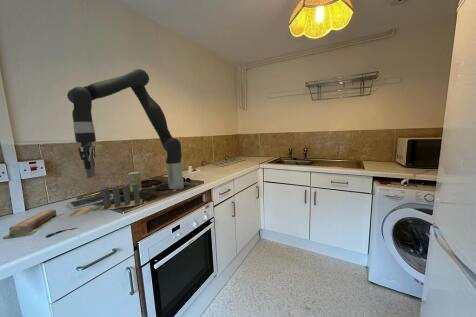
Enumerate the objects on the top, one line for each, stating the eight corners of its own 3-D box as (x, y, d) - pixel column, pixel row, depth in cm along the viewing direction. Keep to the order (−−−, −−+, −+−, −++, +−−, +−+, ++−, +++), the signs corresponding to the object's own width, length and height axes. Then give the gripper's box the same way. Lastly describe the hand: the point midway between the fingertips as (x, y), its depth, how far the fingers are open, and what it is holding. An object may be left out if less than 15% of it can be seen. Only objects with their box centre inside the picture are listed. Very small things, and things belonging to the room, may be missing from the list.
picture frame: (109, 195, 121) (66, 206, 106) (108, 191, 121) (65, 201, 105) (118, 200, 111) (71, 212, 96) (117, 195, 111) (70, 207, 95)
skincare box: (130, 192, 124) (127, 173, 123) (131, 190, 128) (129, 172, 127) (140, 190, 126) (138, 172, 124) (142, 189, 130) (140, 171, 128)
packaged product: (32, 223, 73) (0, 228, 71) (35, 235, 74) (3, 240, 71) (62, 206, 90) (37, 210, 88) (64, 216, 91) (39, 219, 89)
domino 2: (111, 205, 99) (108, 186, 97) (108, 208, 94) (105, 189, 93) (106, 205, 98) (103, 187, 97) (104, 209, 93) (101, 189, 92)
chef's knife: (105, 218, 86) (101, 217, 88) (104, 216, 86) (101, 214, 87) (48, 240, 70) (45, 238, 71) (48, 237, 69) (44, 235, 71)
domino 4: (130, 202, 102) (128, 183, 101) (129, 205, 97) (126, 186, 96) (126, 202, 101) (124, 184, 100) (125, 205, 97) (122, 186, 95)
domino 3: (121, 203, 100) (118, 185, 99) (119, 206, 96) (116, 187, 94) (117, 204, 100) (114, 185, 98) (114, 207, 95) (111, 188, 94)
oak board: (142, 201, 105) (142, 199, 105) (141, 205, 98) (141, 203, 98) (75, 212, 95) (75, 209, 94) (68, 218, 87) (68, 216, 87)
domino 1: (87, 178, 89) (84, 156, 88) (91, 176, 94) (88, 155, 93) (92, 177, 90) (88, 156, 89) (95, 175, 95) (92, 155, 93)
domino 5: (140, 200, 103) (137, 182, 102) (139, 203, 99) (136, 184, 98) (136, 201, 103) (133, 183, 101) (135, 204, 98) (132, 185, 97)
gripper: (81, 132, 95) (86, 166, 97) (67, 132, 81) (74, 171, 83) (99, 132, 97) (103, 165, 99) (89, 131, 84) (94, 169, 86)
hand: (90, 167), depth 91 cm, fingers closed on domino 1, 5 cm apart
